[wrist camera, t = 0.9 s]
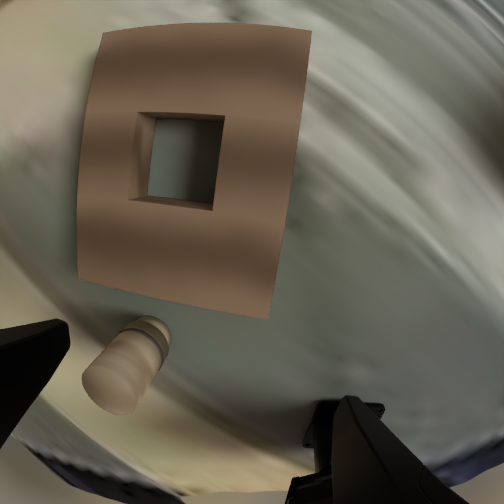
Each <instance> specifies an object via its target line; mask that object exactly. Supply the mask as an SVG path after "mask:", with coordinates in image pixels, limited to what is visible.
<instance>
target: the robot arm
mask: <svg viewBox="0 0 504 504" xmlns="http://www.w3.org/2000/svg"><path fill="white" fill-rule="evenodd" d="M69 348H70V336H69V327H68V324H67V323H66V322H65V321H62V320H60V319H52V320H47V321H42V322H37V323H32V324H27V325H21V326H16V327H11V328H5V329H0V449H1V447H2V445H3V444H4V443H5V441H6V440H7V438H8V437H9V435H10V434H11V432H12V431H13V430H14V428H15V427H16V425H17V424H18V422H19V421H20V420H21V418H22V417H23V415H24V414H25V413H26V411H27V410H28V409H29V407H30V406H31V404H32V403H33V402H34V400H35V399H36V398H37V396H38V395H39V394H40V392H41V391H42V390H43V388H44V387H45V386H46V384H47V383H48V382H49V380H50V379H51V377H52V376H53V374H54V372H55V371H56V369H57V367H58V366H59V364H60V363H61V361H62V359H63V358H64V356H65V355H66V353H67V352H68V350H69ZM321 406H324V407H321ZM379 409H380V410H379ZM384 411H385V407H384V405H383V404H365V403H363V402H362V401H361V400H360V398H358V397H357V396H350V395H345V396H344V397H343V398H342V400H341V402H331V401H321V402H319V403H318V404H317V407H316V410H315V412H314V415H313V417H312V420H311V422H310V425H309V427H308V430H307V432H306V435H305V437H304V439H303V442H302V444H303V447H305V448H314V460H315V473H314V474H310V475H306V476H302V477H294V478H292V481H291V484H290V487H289V491H288V494H287V498H286V501H285V504H469V503H468V502H467V501H465V500H464V499H463V498H462V497H460V496H459V495H457V494H456V493H455V492H454V491H453V490H451V489H450V488H449V487H448V486H447V485H445V484H444V483H443V482H442V481H441V480H440V479H439V478H438V477H436V476H435V475H434V474H433V473H432V472H431V471H430V470H429V469H428V468H427V467H426V466H425V465H423V463H422V462H421V461H420V460H419V459H418V458H417V457H416V456H415V455H414V454H413V453H412V452H411V451H410V450H409V449H408V448H407V447H406V446H405V445H404V444H403V443H402V442H401V441H400V440H399V439H398V438H397V437H396V436H395V435H394V434H393V433H392V432H391V431H390V430H389V428H388V427H387V426H386V425H385V424H384V423H383V422H382V421H381V420H380V419H381V417H382V415H383V413H384Z"/></svg>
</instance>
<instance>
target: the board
mask: <svg viewBox="0 0 504 504" xmlns="http://www.w3.org/2000/svg"><path fill="white" fill-rule="evenodd" d="M311 34H312V31H309V30H302V29H295V28H288V27H279V26H269V25H257V24H241V23H184V24H168V25H156V26H146V27H138V28H130V29H123V30H117V31H111V32H106V33H103V36H102V39H101V43H100V47H99V50H98V54H97V58H96V62H95V67H94V71H93V76H92V80H91V85H90V90H89V96H88V101H87V107H86V113H85V120H84V127H83V134H82V142H81V152H80V162H79V175H78V191H77V265H78V279H80V280H84V281H88V282H92V283H96V284H99V285H103V286H107V287H111V288H115V289H120V290H124V291H128V292H132V293H136V294H141V295H145V296H149V297H154V298H158V299H163V300H167V301H172V302H177V303H182V304H186V305H191V306H196V307H201V308H206V309H212V310H217V311H222V312H228V313H233V314H239V315H244V316H250V317H256V318H262V319H268V318H269V312H270V307H271V301H272V296H273V290H274V284H275V279H276V273H277V267H278V262H279V256H280V250H281V244H282V238H283V232H284V226H285V220H286V214H287V207H288V201H289V195H290V188H291V182H292V175H293V169H294V162H295V155H296V149H297V142H298V135H299V128H300V121H301V113H302V106H303V98H304V91H305V83H306V75H307V68H308V59H309V51H310V43H311ZM156 118H161V119H186V120H202V121H215V122H224V128H223V135H222V142H221V149H220V156H219V164H218V171H217V179H216V187H215V195H214V203H213V204H210V203H202V202H195V201H187V200H180V199H172V198H164V197H155V196H147V192H148V181H149V171H150V162H151V154H152V146H153V138H154V131H155V124H156Z"/></svg>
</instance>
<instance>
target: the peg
mask: <svg viewBox="0 0 504 504" xmlns="http://www.w3.org/2000/svg"><path fill="white" fill-rule="evenodd" d="M170 343H171V333H170V331H169V329H168V327H167V326H166V324H165V323H164V322H162V321H161V320H160V319H158V318H156V317H153V316H142V317H140V318H139V319H138V320H137V321H133V322H131V323H129V324H128V325H127V326H126V327H125V328H124V329H123V330H122V331H120V332H119V333H118V334H117V335H116V337H115V339H114V340H113V341H112V342H111V343H110V344H109V345H108V346H107V347H106V348H105V349H104V350H103V351H102V352H101V353H100V355H99V356H98V357H97V358H96V359H95V360H94V361H93V362H92V363H91V364H90V365H89V366H88V368H87V369H86V370H85V371H84V372H83V374H82V384H83V387H84V389H85V391H86V393H87V394H88V396H89V397H90V398H91V399H92V400H93V401H94V402H95V403H96V404H97V405H98V406H100V407H101V408H102V409H104V410H106V411H108V412H110V413H112V414H116V415H129V414H131V413H132V412H133V411H134V410H135V408H136V406H137V405H138V403H139V401H140V400H141V398H142V396H143V395H144V393H145V391H146V390H147V388H148V386H149V385H150V383H151V382H152V380H153V378H154V377H155V375H156V373H157V372H158V371H159V370H160V368H161V366H162V364H163V362H164V360H165V359H166V357H167V355H168V352H169V345H170Z"/></svg>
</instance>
